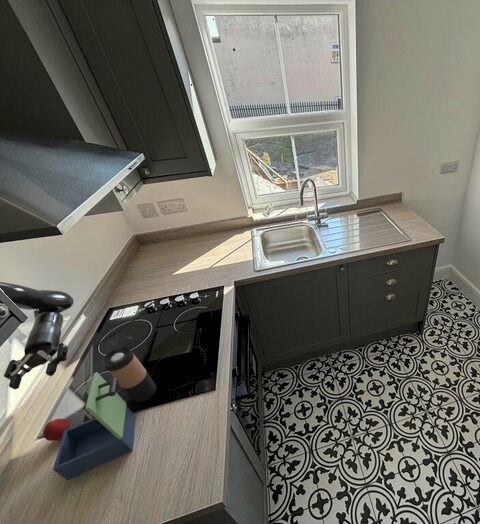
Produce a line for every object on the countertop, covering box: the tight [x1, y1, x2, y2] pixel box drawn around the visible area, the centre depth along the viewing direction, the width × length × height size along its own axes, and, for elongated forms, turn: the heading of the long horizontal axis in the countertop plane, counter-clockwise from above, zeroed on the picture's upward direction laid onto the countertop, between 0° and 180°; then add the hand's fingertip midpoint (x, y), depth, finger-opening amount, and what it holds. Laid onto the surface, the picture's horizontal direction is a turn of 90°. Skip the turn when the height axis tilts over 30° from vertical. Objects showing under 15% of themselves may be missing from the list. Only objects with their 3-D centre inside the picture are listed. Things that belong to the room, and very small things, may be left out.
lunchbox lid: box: [85, 371, 127, 439], centre depth 82 cm, size 16×12×5 cm
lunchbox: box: [52, 405, 137, 481], centre depth 86 cm, size 16×12×7 cm
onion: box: [42, 418, 71, 442], centre depth 89 cm, size 6×6×8 cm
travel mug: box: [101, 346, 157, 403], centre depth 96 cm, size 8×8×20 cm
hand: (32, 381), depth 86 cm, fingers open, 8 cm apart
